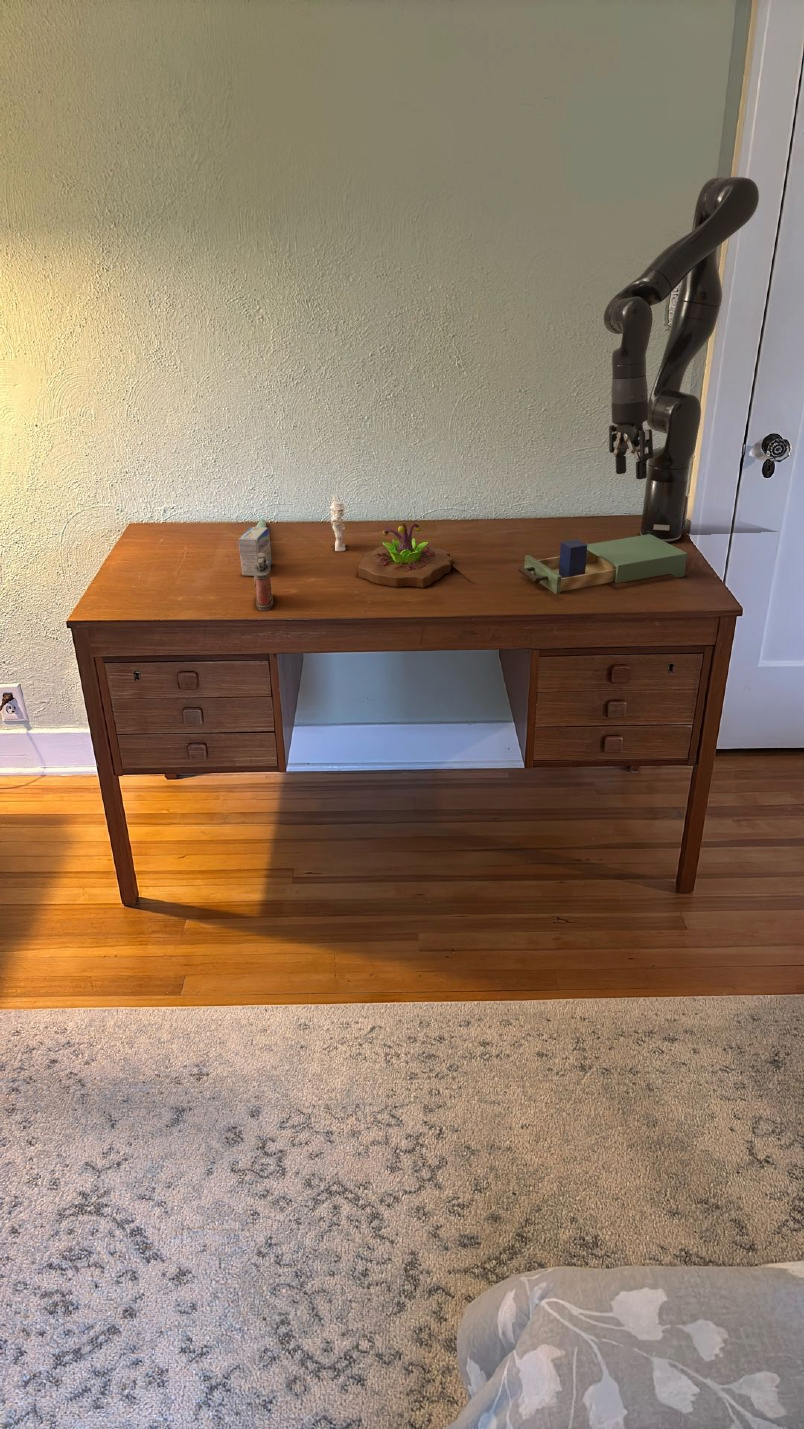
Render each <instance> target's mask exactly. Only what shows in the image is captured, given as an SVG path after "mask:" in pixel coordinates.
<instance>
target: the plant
mask: <svg viewBox="0 0 804 1429" xmlns="http://www.w3.org/2000/svg"><path fill="white" fill-rule="evenodd" d="M414 528H415V531H416V532H420V531H421V530H422V527H421V525H420V524H418V523H412V524H411V526H410V527H409V530H408V528H407V525H406V523H401V524H400V525H399V526H398V528H397V530H398V531H396V530H394V529H393V528H384V529H383V530H382V535H383V536H384V537H385V536H386V537H387V536H388V535H389V533H392V534H393V535H394V536H395V537H396V538H398V540H396V539H394V538H393V539H392V543H390V542H387V541H382V545H383V546H378V547H376V549H375V550H372V551H369V552H366V553H365V554H364V556H363V557H362V559H361V560H360V562H359V564H358V570H357V571H358V577H359V578H360V579H365V580H367V581H369V582H371V583H373V584H375V585H380V586H388V587H393V588H402V587H413V588H422V589H423V588H425V587H428V586H431V585H432V584H433V583H435V582H436V581H438V580H440V579H441V578H442V577H443V576H444V575H446V574H450V573H451V570H452V569H453V565H452V564H453V558H452V557H451V553H450V552H449V551H447V550H445V549H441V548H437V547H436V548H435V547H431V546H427V545H428V544H429V541H423V542H421V543H419V544H416V539H415V538H414V537H412V536H413V531H414ZM401 534H402V535H401Z"/></svg>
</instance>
